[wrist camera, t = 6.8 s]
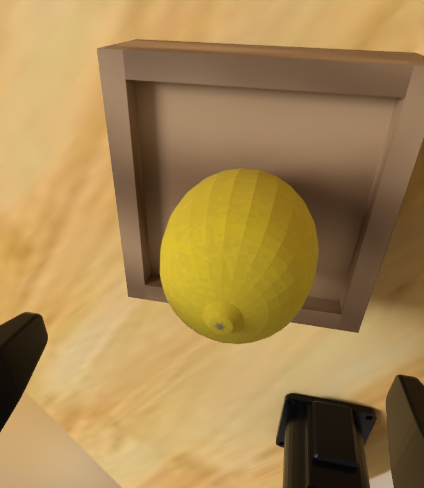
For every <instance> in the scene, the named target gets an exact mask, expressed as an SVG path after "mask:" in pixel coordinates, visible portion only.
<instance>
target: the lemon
mask: <svg viewBox="0 0 424 488" xmlns="http://www.w3.org/2000/svg"><path fill="white" fill-rule="evenodd" d="M318 254H319V247H318V240H317V234H316V228H315V223H314V220H313V218H312V216H311V214H310V212H309V210H308V208H307V206H306V204H305V202H304V201H303V199H302V198H301V197H300V196H299V195H298V194H297V192H296V191H295V190H294V189H293V188H292V187H291V186H290V185H289V184H287V183H286V182H284V181H283V180H281V179H280V178H278V177H277V176H275V175H272V174H269V173H266V172H263V171H261V170H254V169H245V168H239V169H231V170H224V171H222V172H219V173H217V174H214V175H212V176H209V177H207V178H205V179H204V180H203V181H201V182H200V183H199V184H197V185H196V186H195V187H193V188H192V189H191V190H189V191H188V192H187V193H186V195H185V196H184V197H183V199H182V200H181V201H180V203H179V204H178V205H177V207H176V208H175V209H174V211H173V212H172V214H171V216H170V219H169V222H168V225H167V227H166V230H165V233H164V236H163V239H162V244H161V251H160V277H161V282H162V286H163V290H164V294H165V296H166V298H167V300H168V302H169V304H170V306H171V307H172V309H173V311H174V312H175V313H176V314H177V316H178V317H179V318H180V319H181V320H182V321H183V322H184V323H185V324H186V325H187V326H188V327H190V328H191V329H193V330H194V331H195V332H197V333H198V334H201V335H203V336H205V337H207V338H209V339H212V340H215V341H219V342H223V343H234V344H241V343H251V342H255V341H258V340H261V339H264V338H267V337H270V336H271V335H273V334H275V333H276V332H278V331H280V330H282V329H283V328H284V327H285V326H287V325H288V324H289V323H290V321H291V320H292V319H293V318H294V317H295V316H296V315H297V314H298V313H299V311H300V310H301V308H302V306H303V304H304V302H305V300H306V298H307V296H308V294H309V292H310V290H311V288H312V285H313V282H314V279H315V274H316V267H317V261H318Z"/></svg>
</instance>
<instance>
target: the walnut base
mask: <svg viewBox="0 0 424 488" xmlns="http://www.w3.org/2000/svg"><path fill="white" fill-rule="evenodd" d="M97 53H98V61H99V69H100V77H101V84H102V92H103V100H104V108H105V116H106V124H107V132H108V140H109V148H110V156H111V163H112V171H113V179H114V187H115V195H116V203H117V211H118V219H119V227H120V234H121V242H122V250H123V258H124V266H125V274H126V282H127V290H128V297H134V298H140V299H147V300H153V301H159V302H166V303H169V302H168V300H167V298H166V296H165V294H164V290H163V286H162V282H161V277H160V251H161V244H162V239H163V236H164V233H165V230H166V227H167V225H168V222H169V219H170V216H171V214H172V212H173V211H174V209H175V208H176V207H177V205H178V204H179V203H180V201H181V200H182V199H183V197H184V196H185V195H186V193H187V192H188V191H189V190H191V189H192V188H193V187H195V186H196V185H197V184H199V183H200V182H201V181H203V180H204V179H205V178H207V177H209V176H212V175H214V174H217V173H219V172H222V171H224V170H231V169H239V168H245V169H254V170H261V171H263V172H266V173H269V174H272V175H275V176H277V177H278V178H280V179H281V180H283V181H284V182H286V183H287V184H289V185H290V186H291V187H292V188H293V189H294V190H295V191H296V192H297V194H298V195H299V196H300V197H301V198H302V199H303V201H304V202H305V204H306V206H307V208H308V210H309V212H310V214H311V216H312V218H313V220H314V223H315V228H316V234H317V240H318V247H319V254H318V261H317V267H316V274H315V279H314V282H313V285H312V288H311V290H310V292H309V294H308V296H307V298H306V300H305V302H304V304H303V306H302V308H301V310H300V311H299V313H298V314H297V315H296V316H295V317H294V318H293V319H292V320H291V321H290V322H293V323H299V324H306V325H312V326H318V327H325V328H331V329H338V330H344V331H350V332H357V333H358V332H359V329H360V326H361V323H362V320H363V317H364V314H365V311H366V308H367V305H368V302H369V299H370V296H371V293H372V290H373V287H374V284H375V281H376V278H377V275H378V272H379V269H380V266H381V264H382V261H383V258H384V255H385V252H386V249H387V246H388V243H389V240H390V237H391V234H392V231H393V228H394V225H395V222H396V219H397V216H398V213H399V210H400V207H401V204H402V201H403V198H404V195H405V192H406V189H407V186H408V183H409V180H410V177H411V175H412V172H413V169H414V166H415V163H416V160H417V157H418V154H419V151H420V148H421V145H422V142H423V139H424V56H422V55H419V54H417V53H405V52H384V51H364V50H343V49H323V48H302V47H282V46H261V45H240V44H220V43H199V42H179V41H158V40H138V39H136V40H132V41H127V42H123V43H119V44H114V45H110V46H106V47H101V48H97Z"/></svg>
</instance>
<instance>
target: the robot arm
mask: <svg viewBox="0 0 424 488" xmlns="http://www.w3.org/2000/svg"><path fill="white" fill-rule="evenodd" d="M47 341H48V334H47V331H46V327H45V324H44V321H43V318H42V316H41V315H40V314H37V313H31V312H24V313H22V314H20V315H18V316H16V317H15V318H13V319H11V320H9V321H7V322H5V323H4V324H2V325H0V432H1V430H2V429H3V427H4V425H5V423H6V422H7V420H8V419H9V417H10V415H11V414H12V412H13V410H14V409H15V407H16V405H17V403H18V402H19V400H20V398H21V396H22V394H23V392H24V391H25V389H26V387H27V384H28V382H29V380H30V378H31V376H32V374H33V372H34V370H35V368H36V365H37V363H38V361H39V359H40V357H41V355H42V353H43V351H44V348H45V346H46V344H47ZM386 413H387V426H388V439H389V451H390V463H391V473H392V479H393V485H394V488H424V385H423V384H422V383H421V382H420V381H419V380H418V379H417V378H415V377H412V376H406V375H397V376H396V377H395V379H394V381H393V383H392V386H391V388H390V390H389V392H388V394H387V398H386ZM376 418H377V417H376V412H375V411H374V410H373V409H370V408H364V407H359V406H354V405H348V404H343V403H337V402H332V401H327V400H321V399H316V398H310V397H305V396H300V395H294V394H288V395H286V396H285V399H284V404H283V408H282V413H281V418H280V422H279V427H278V432H277V436H276V444H277V445H278V446H280V447H284V468H283V488H370V484H369V477H368V470H367V463H366V456H365V449H364V445H365V443H366V441H367V439H368V436H369V434H370V432H371V430H372V428H373V425H374V423H375V421H376Z"/></svg>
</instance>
